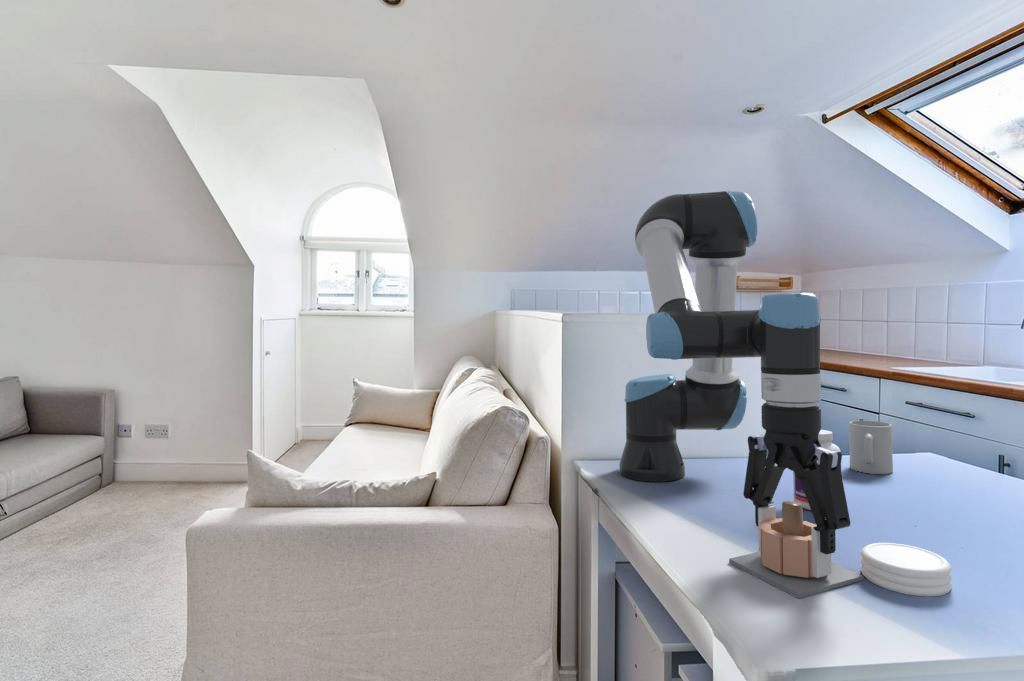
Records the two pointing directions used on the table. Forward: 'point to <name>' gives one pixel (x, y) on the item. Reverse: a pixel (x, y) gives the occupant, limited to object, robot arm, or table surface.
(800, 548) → the ring
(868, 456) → the mug
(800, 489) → the pill bottle
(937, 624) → the table surface
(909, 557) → the coaster
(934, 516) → the table surface
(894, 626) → the table surface
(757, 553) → the post block
